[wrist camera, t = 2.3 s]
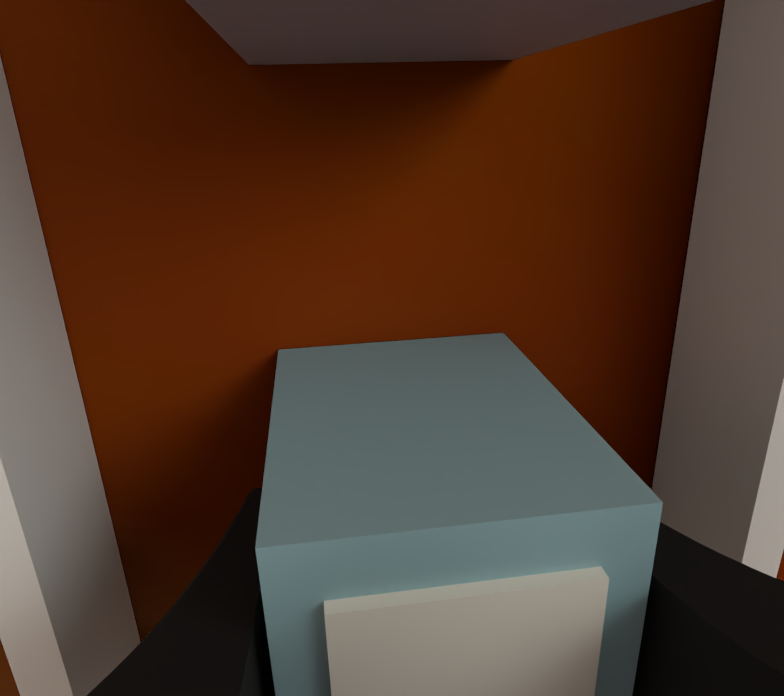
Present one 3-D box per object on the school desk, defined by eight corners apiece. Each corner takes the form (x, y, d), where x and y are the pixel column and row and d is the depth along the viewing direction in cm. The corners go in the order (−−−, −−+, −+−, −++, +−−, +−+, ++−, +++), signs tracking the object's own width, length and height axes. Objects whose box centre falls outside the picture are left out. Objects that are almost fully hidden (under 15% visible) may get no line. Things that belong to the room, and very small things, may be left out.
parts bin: (879, -649, 8) (1197, -1076, 5) (660, 619, 16) (737, 728, 13) (-288, -804, 6) (-767, -1555, 3) (116, 694, 14) (70, 836, 11)
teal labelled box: (503, 332, 12) (673, 513, 6) (493, 569, 14) (615, 857, 9) (278, 349, 12) (253, 561, 6) (304, 593, 14) (303, 915, 8)
